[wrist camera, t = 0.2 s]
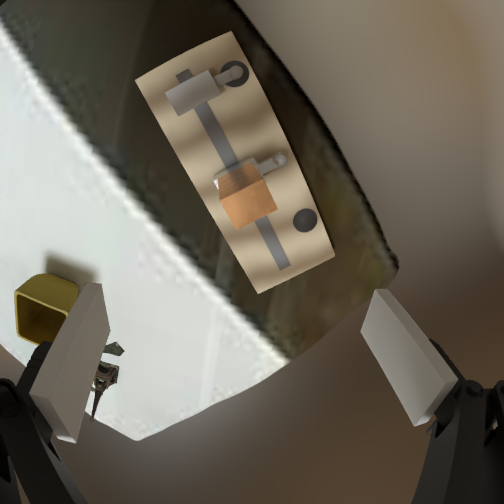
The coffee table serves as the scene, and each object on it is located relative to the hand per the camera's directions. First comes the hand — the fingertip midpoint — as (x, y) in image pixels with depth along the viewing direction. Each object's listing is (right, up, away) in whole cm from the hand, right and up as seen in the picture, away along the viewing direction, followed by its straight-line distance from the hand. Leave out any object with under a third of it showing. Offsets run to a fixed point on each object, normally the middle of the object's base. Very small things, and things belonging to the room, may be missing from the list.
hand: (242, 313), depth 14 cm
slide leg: (0, +12, +21) cm, 24 cm away
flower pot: (-29, -3, +27) cm, 40 cm away
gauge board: (-1, +13, +23) cm, 26 cm away
